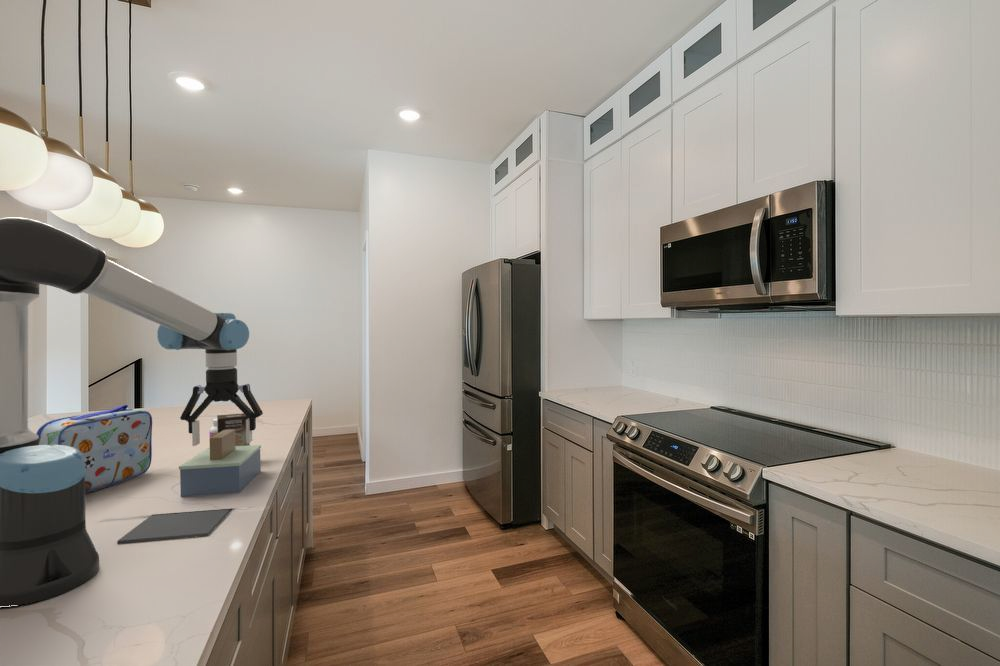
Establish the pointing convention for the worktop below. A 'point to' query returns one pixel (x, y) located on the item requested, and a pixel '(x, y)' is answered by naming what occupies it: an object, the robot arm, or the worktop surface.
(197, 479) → the storage box
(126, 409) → the lunch box
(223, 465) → the lid
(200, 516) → the mat
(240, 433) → the coffee box
